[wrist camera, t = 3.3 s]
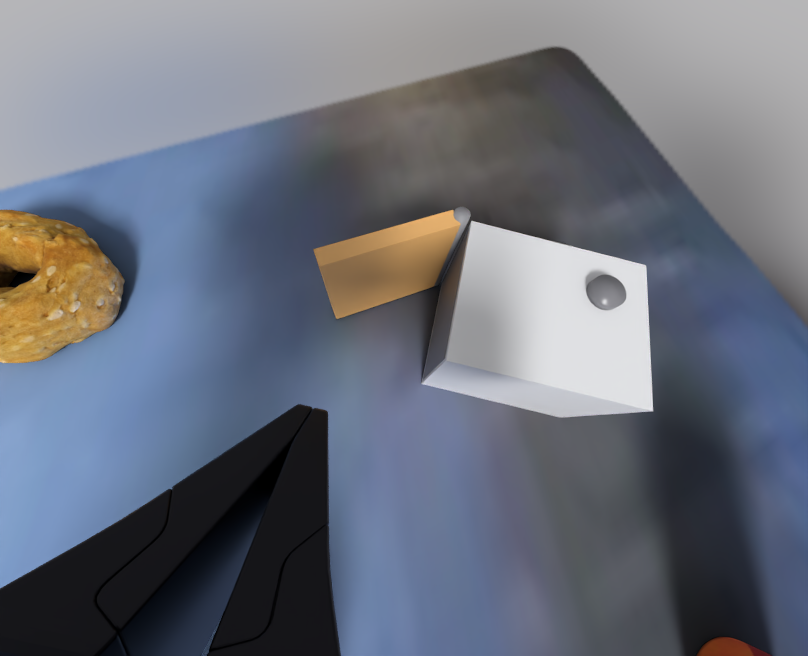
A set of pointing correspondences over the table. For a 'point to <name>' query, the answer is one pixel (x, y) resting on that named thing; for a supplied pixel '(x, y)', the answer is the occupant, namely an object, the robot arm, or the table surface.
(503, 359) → the white block
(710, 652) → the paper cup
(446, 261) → the side door
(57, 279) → the bagel
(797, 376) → the table surface
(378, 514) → the table surface
